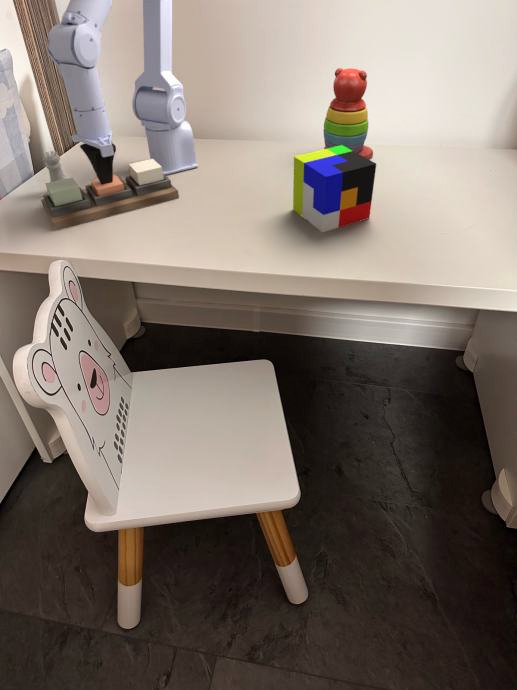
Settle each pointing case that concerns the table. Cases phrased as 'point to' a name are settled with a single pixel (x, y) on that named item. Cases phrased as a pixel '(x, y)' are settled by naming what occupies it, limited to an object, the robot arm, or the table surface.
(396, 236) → the table surface
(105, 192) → the terracotta button
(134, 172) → the cream button
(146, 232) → the table surface
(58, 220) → the button board
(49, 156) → the rook chess piece
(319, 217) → the puzzle toy
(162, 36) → the robot arm
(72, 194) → the sage button
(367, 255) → the table surface
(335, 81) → the stacking bear
